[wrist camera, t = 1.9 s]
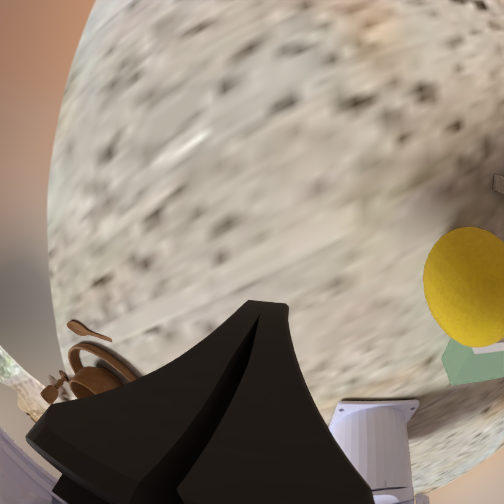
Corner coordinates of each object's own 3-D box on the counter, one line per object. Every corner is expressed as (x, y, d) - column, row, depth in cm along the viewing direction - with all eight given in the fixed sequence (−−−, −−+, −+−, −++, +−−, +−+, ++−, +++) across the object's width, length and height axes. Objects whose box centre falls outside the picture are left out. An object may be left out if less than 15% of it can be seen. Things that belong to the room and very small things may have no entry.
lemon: (486, 215, 13) (563, 272, 5) (465, 292, 15) (515, 372, 8) (416, 204, 14) (486, 264, 7) (399, 289, 16) (434, 383, 9)
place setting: (165, 428, 31) (148, 460, 26) (64, 380, 35) (45, 402, 29) (136, 338, 24) (103, 379, 19) (25, 293, 28) (-4, 315, 22)
